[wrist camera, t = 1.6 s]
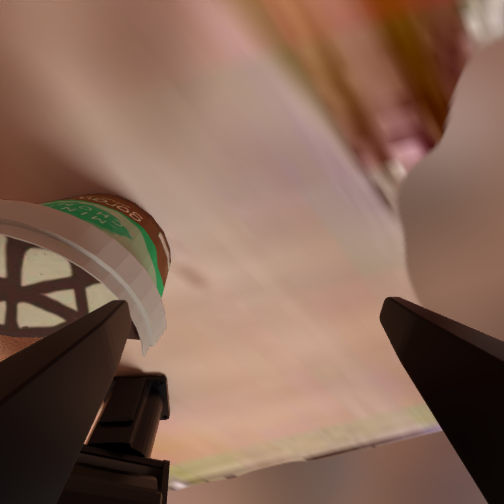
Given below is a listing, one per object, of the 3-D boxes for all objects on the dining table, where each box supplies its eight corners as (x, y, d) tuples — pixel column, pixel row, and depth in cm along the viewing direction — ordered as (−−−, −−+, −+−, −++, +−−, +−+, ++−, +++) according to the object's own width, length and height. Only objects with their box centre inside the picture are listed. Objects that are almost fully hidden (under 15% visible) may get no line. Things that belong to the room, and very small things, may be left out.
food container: (194, 191, 18) (160, 237, 9) (188, 264, 21) (156, 357, 12) (11, 162, 16) (-259, 182, 7) (27, 245, 19) (-163, 338, 10)
